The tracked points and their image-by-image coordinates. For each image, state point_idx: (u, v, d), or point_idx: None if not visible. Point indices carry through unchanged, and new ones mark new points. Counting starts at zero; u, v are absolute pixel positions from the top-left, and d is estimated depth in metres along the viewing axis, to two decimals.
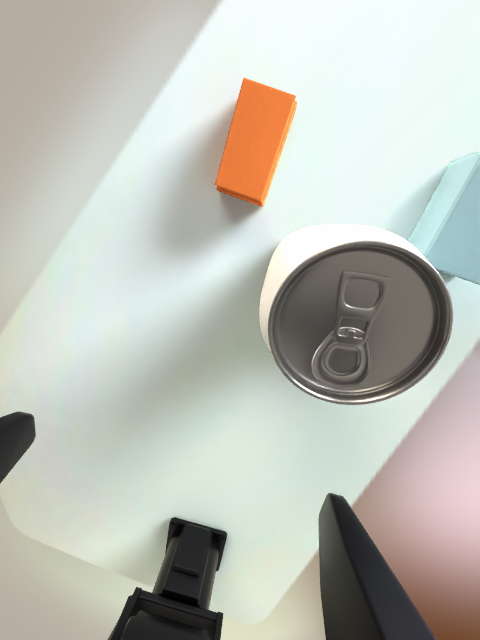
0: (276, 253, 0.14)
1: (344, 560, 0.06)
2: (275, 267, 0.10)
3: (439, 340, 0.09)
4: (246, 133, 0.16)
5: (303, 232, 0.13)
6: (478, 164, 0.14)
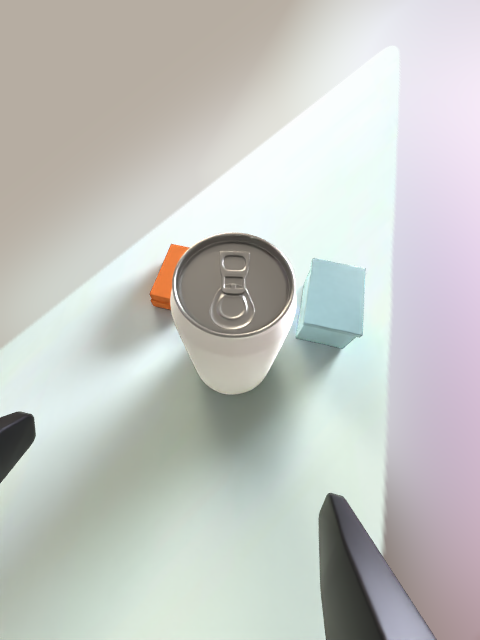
0: None
1: (344, 560, 0.06)
2: None
3: (291, 284, 0.13)
4: (173, 267, 0.25)
5: None
6: (311, 268, 0.23)
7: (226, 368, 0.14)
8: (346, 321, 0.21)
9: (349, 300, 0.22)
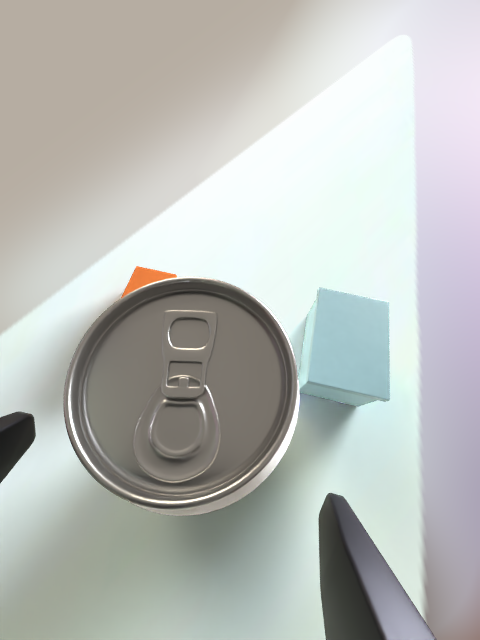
0: None
1: (344, 560, 0.06)
2: None
3: (291, 377, 0.07)
4: None
5: None
6: (317, 301, 0.17)
7: None
8: (366, 379, 0.15)
9: (369, 348, 0.16)
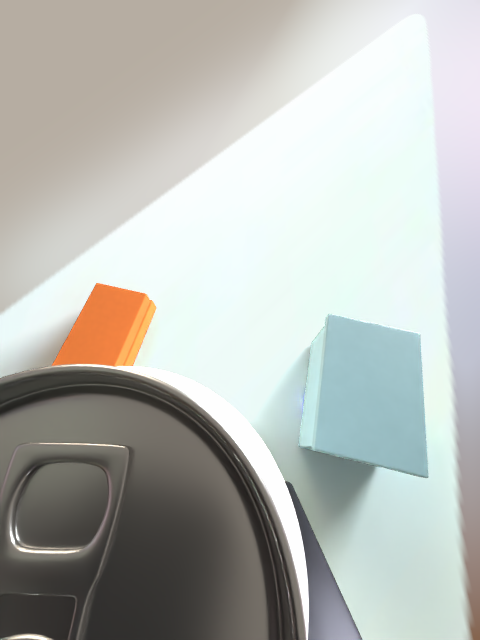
0: None
1: None
2: None
3: (292, 633, 0.03)
4: (93, 324, 0.15)
5: None
6: (326, 333, 0.13)
7: None
8: (395, 446, 0.11)
9: (397, 399, 0.12)
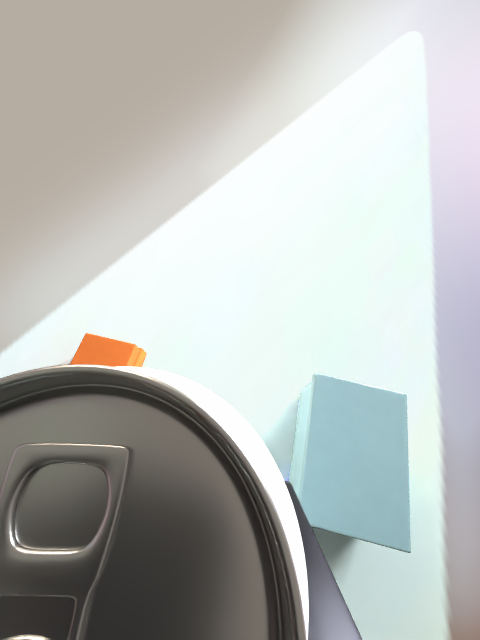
0: None
1: None
2: None
3: (292, 633, 0.03)
4: None
5: None
6: (312, 394, 0.13)
7: None
8: (378, 518, 0.11)
9: (382, 467, 0.12)
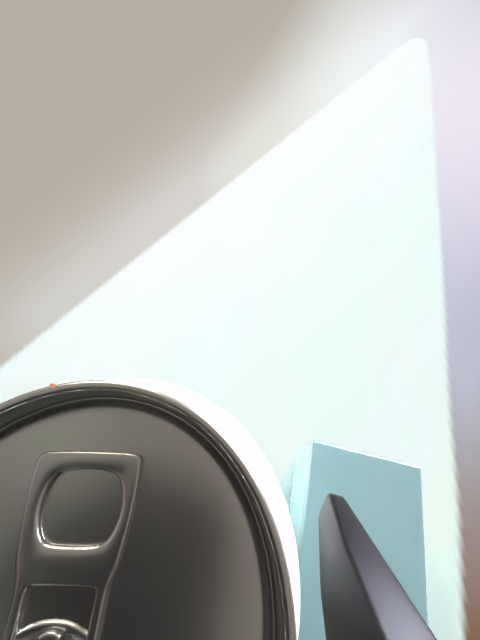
0: None
1: (344, 560, 0.06)
2: None
3: (284, 618, 0.03)
4: None
5: None
6: (309, 468, 0.11)
7: None
8: None
9: (393, 566, 0.10)
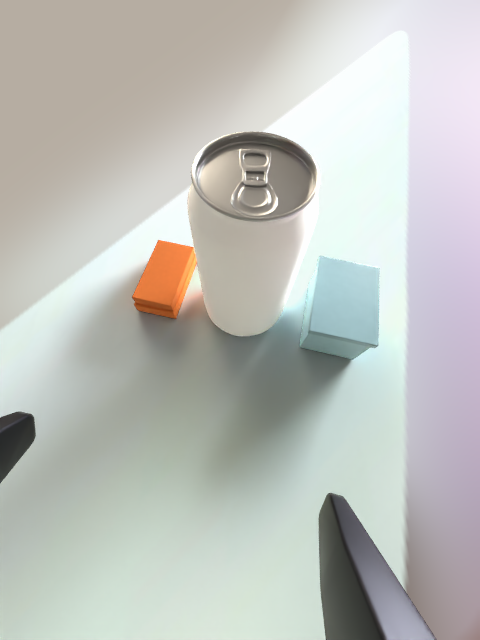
0: None
1: (344, 560, 0.06)
2: None
3: (315, 179, 0.12)
4: (159, 266, 0.22)
5: None
6: (317, 267, 0.20)
7: (245, 277, 0.14)
8: (359, 329, 0.18)
9: (362, 304, 0.19)
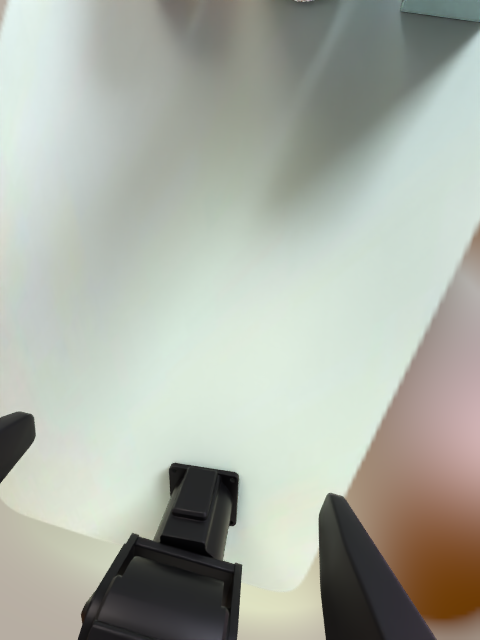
0: None
1: (344, 560, 0.06)
2: None
3: None
4: None
5: None
6: None
7: None
8: None
9: None
